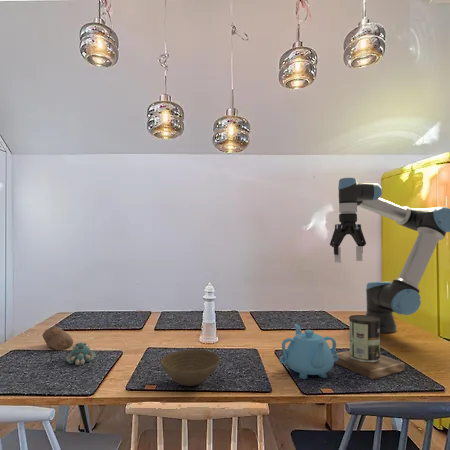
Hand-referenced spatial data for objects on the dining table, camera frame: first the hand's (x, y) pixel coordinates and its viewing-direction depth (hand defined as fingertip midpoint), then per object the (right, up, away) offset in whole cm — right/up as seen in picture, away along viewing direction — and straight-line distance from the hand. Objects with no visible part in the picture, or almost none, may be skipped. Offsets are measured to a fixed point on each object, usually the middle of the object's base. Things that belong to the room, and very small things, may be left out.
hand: (348, 261), depth 158 cm
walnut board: (-4, -34, -30) cm, 46 cm away
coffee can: (-5, -31, -30) cm, 43 cm away
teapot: (-26, -34, -37) cm, 56 cm away
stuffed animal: (-107, -34, -26) cm, 115 cm away
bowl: (-65, -33, -46) cm, 87 cm away
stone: (-122, -34, -10) cm, 127 cm away
